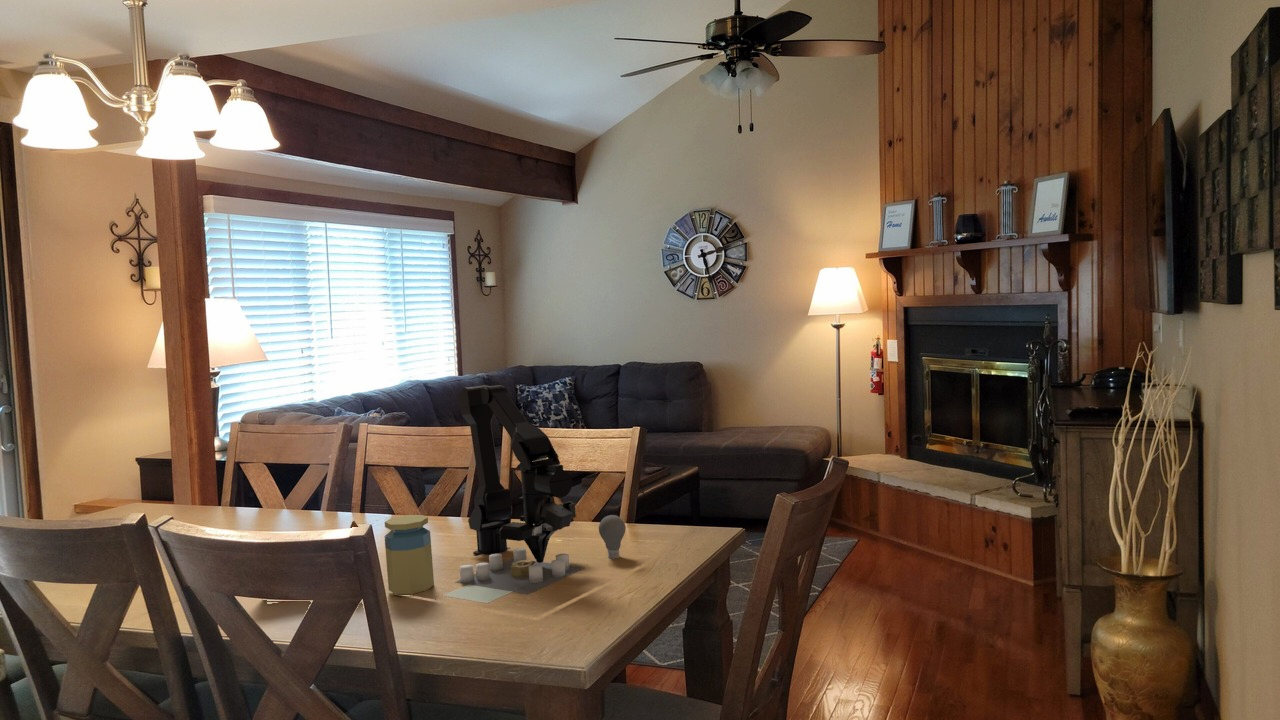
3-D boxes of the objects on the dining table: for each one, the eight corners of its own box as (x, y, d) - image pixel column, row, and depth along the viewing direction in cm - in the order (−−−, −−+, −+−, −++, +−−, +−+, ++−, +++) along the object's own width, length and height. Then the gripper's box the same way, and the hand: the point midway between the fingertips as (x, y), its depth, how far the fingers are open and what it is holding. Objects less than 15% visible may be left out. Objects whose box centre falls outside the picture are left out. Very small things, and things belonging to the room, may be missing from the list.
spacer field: (454, 585, 191) (453, 568, 191) (514, 560, 207) (513, 545, 207) (527, 597, 180) (526, 579, 180) (585, 570, 196) (584, 554, 196)
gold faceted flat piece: (506, 575, 194) (505, 565, 194) (521, 569, 198) (520, 559, 198) (526, 578, 191) (525, 567, 191) (540, 572, 195) (540, 561, 195)
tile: (442, 598, 183) (442, 595, 183) (468, 587, 189) (468, 584, 189) (486, 606, 176) (486, 603, 176) (512, 594, 182) (512, 591, 182)
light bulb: (624, 563, 200) (621, 518, 199) (597, 563, 201) (594, 518, 200) (629, 555, 206) (627, 512, 205) (604, 555, 207) (601, 512, 206)
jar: (443, 586, 190) (438, 516, 190) (410, 600, 183) (405, 526, 182) (412, 582, 195) (407, 513, 194) (379, 594, 188) (373, 523, 187)
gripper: (536, 503, 186) (541, 578, 187) (590, 485, 201) (595, 555, 202) (495, 500, 192) (500, 572, 193) (551, 482, 208) (555, 550, 209)
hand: (540, 562), depth 199 cm, fingers closed
